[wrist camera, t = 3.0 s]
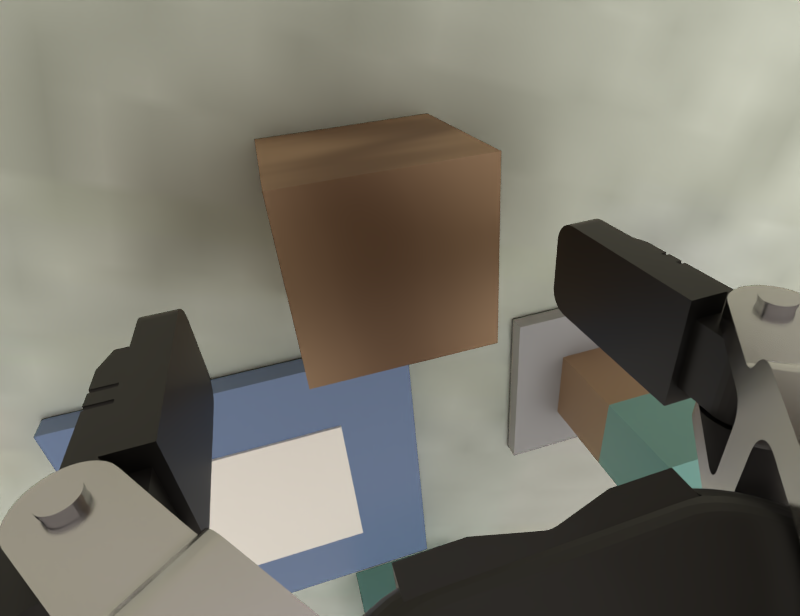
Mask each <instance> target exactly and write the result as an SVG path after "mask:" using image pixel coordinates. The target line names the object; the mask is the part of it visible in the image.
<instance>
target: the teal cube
mask: <svg viewBox="0 0 800 616" xmlns="http://www.w3.org/2000/svg"><path fill="white" fill-rule="evenodd" d="M415 555H416V554H415ZM411 556H413V555H411ZM408 557H410V556H408ZM405 558H407V557H405ZM402 559H404V558H402ZM399 560H401V559H399ZM396 561H398V560H396ZM393 562H395V561H393ZM356 574H357V579H358V584H359V588H360V593H361V598H362V602H363V607H364V612H365V613H366V612H367V611H368V610H369V609H370V608H371V607H372V606H374V605H375V604H376V603H377V602H378V601H379V600H380V599H381V598H383V597H384V596H386V595H387V594H389V593H390V592H392V591H393V590H394V589H396V585H395V579H394V573H393V568H392V562H390V563H387V564H384V565H381V566H378V567H374V568H371V569H368V570H365V571H362V572H359V573H356Z"/></svg>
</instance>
